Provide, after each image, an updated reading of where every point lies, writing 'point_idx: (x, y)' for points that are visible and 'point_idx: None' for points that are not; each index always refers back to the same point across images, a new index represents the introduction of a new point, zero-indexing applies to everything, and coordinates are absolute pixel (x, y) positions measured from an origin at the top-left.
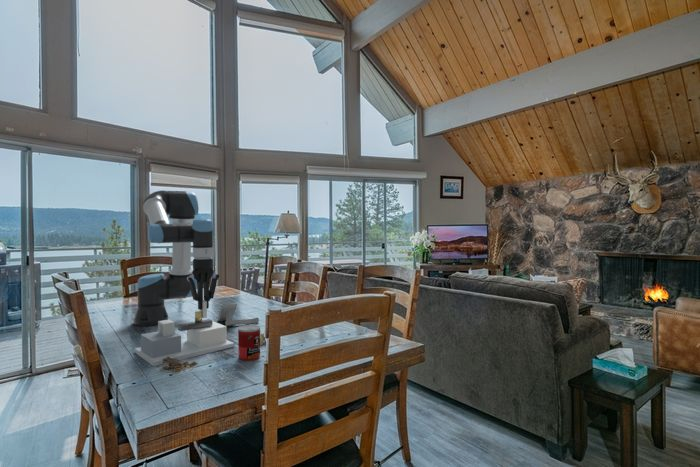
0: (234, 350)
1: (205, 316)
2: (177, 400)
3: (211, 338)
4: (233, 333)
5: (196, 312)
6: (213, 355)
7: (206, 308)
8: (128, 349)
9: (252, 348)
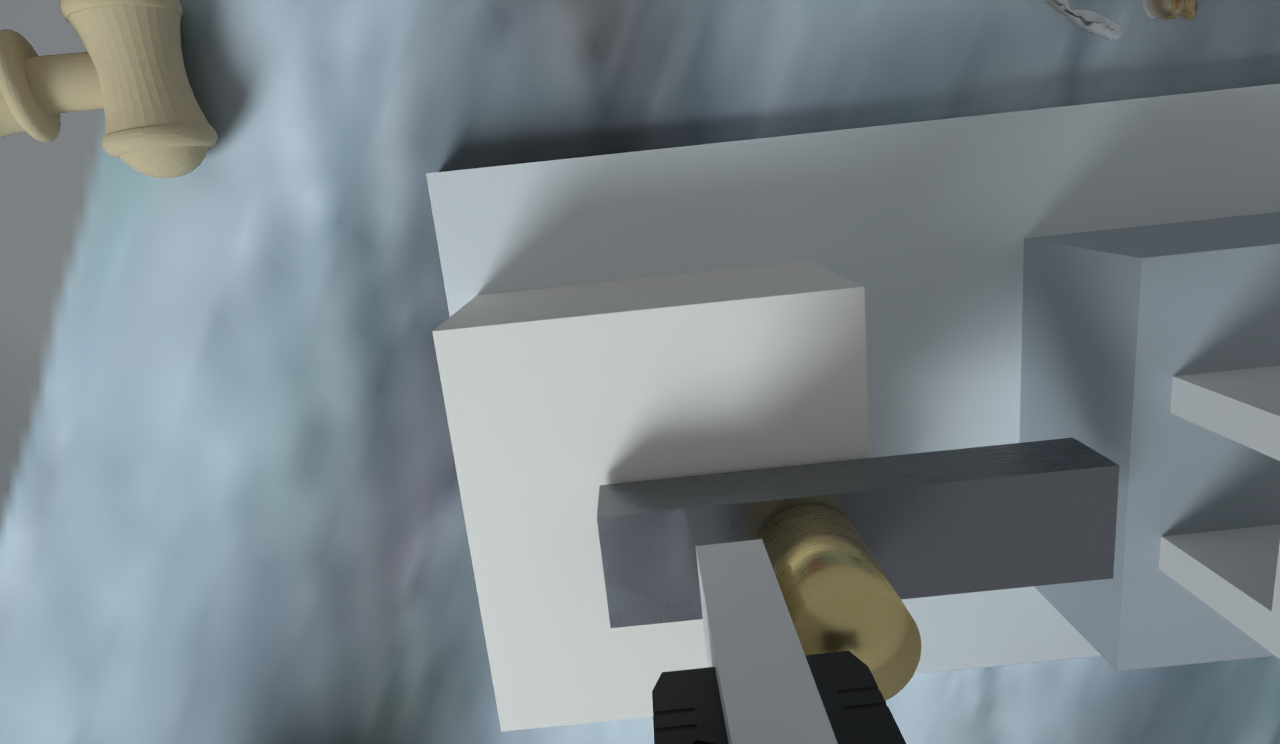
0: (478, 36)
1: (721, 555)
2: None
3: (673, 285)
4: (279, 651)
5: (904, 629)
6: (736, 16)
7: (718, 641)
8: (1274, 731)
9: None
